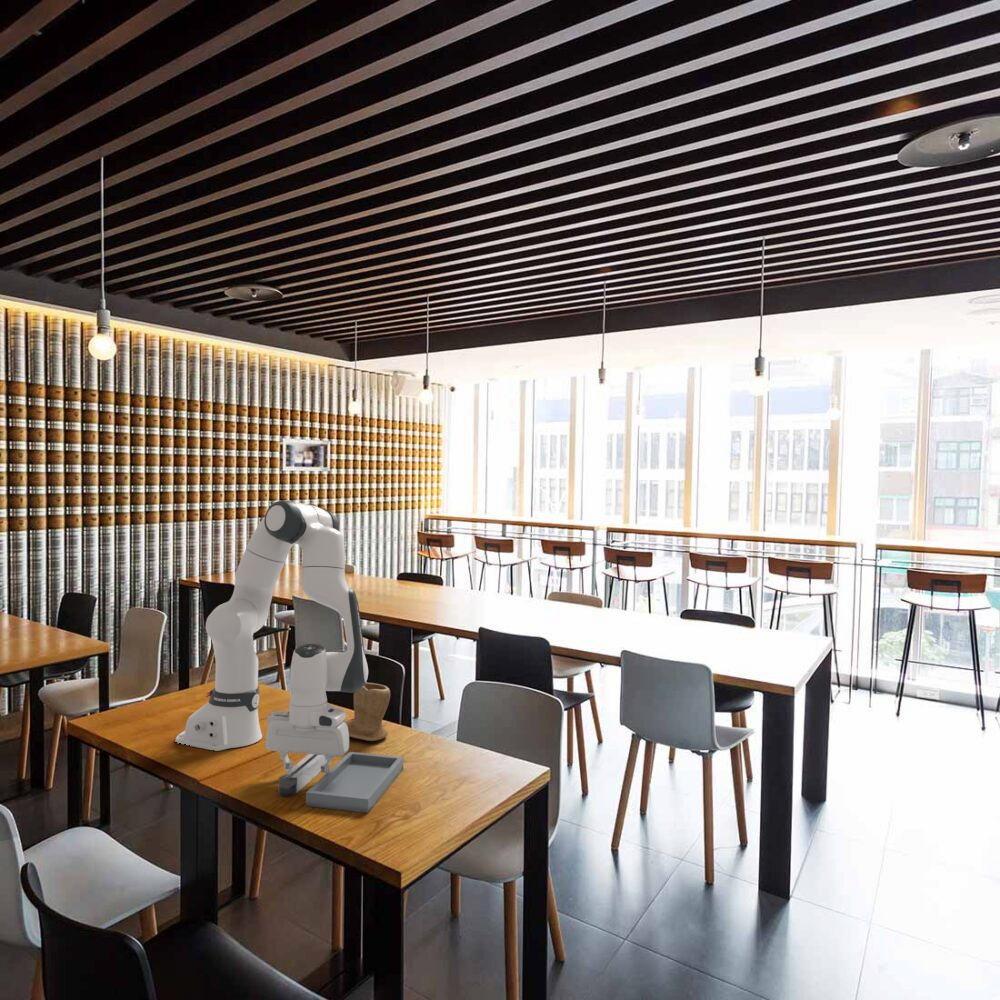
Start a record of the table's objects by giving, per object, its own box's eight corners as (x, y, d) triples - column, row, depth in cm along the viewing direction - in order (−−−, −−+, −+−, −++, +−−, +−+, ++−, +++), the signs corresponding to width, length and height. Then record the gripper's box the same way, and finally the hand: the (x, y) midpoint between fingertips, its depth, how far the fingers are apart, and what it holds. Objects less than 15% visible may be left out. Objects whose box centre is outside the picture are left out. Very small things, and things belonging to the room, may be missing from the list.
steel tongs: (275, 796, 156) (275, 780, 156) (313, 763, 176) (313, 749, 176) (291, 797, 156) (292, 782, 156) (328, 764, 175) (328, 751, 175)
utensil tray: (305, 806, 152) (306, 792, 152) (349, 763, 177) (349, 751, 177) (368, 813, 149) (368, 799, 149) (403, 768, 174) (403, 757, 174)
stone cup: (397, 735, 199) (399, 683, 199) (371, 747, 188) (372, 692, 188) (357, 725, 206) (358, 675, 206) (329, 736, 196) (331, 684, 196)
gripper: (261, 714, 165) (259, 771, 165) (342, 720, 162) (341, 779, 162) (273, 706, 171) (272, 762, 171) (352, 712, 168) (350, 769, 168)
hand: (306, 770), depth 166 cm, fingers open, 8 cm apart
